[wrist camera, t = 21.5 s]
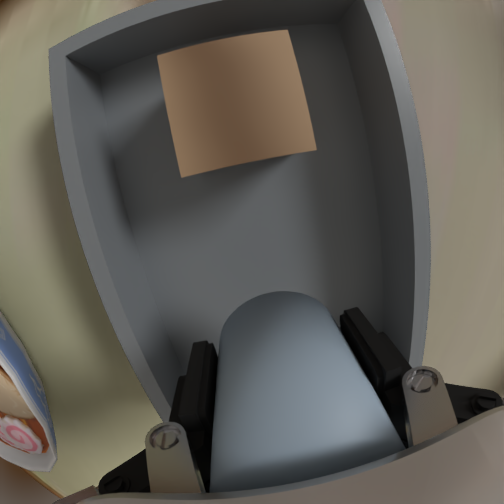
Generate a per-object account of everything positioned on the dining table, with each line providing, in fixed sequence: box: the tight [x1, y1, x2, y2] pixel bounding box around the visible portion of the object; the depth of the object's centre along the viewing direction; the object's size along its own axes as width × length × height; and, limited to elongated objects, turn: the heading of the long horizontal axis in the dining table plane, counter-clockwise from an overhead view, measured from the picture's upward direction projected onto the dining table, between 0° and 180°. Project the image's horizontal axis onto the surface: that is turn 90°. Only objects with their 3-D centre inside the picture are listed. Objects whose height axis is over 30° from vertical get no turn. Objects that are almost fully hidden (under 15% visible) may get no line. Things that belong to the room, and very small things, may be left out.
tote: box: [49, 0, 431, 422], centre depth 14 cm, size 22×16×5 cm
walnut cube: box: [157, 30, 317, 178], centre depth 12 cm, size 5×5×5 cm
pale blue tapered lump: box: [210, 291, 405, 493], centre depth 9 cm, size 5×5×7 cm
